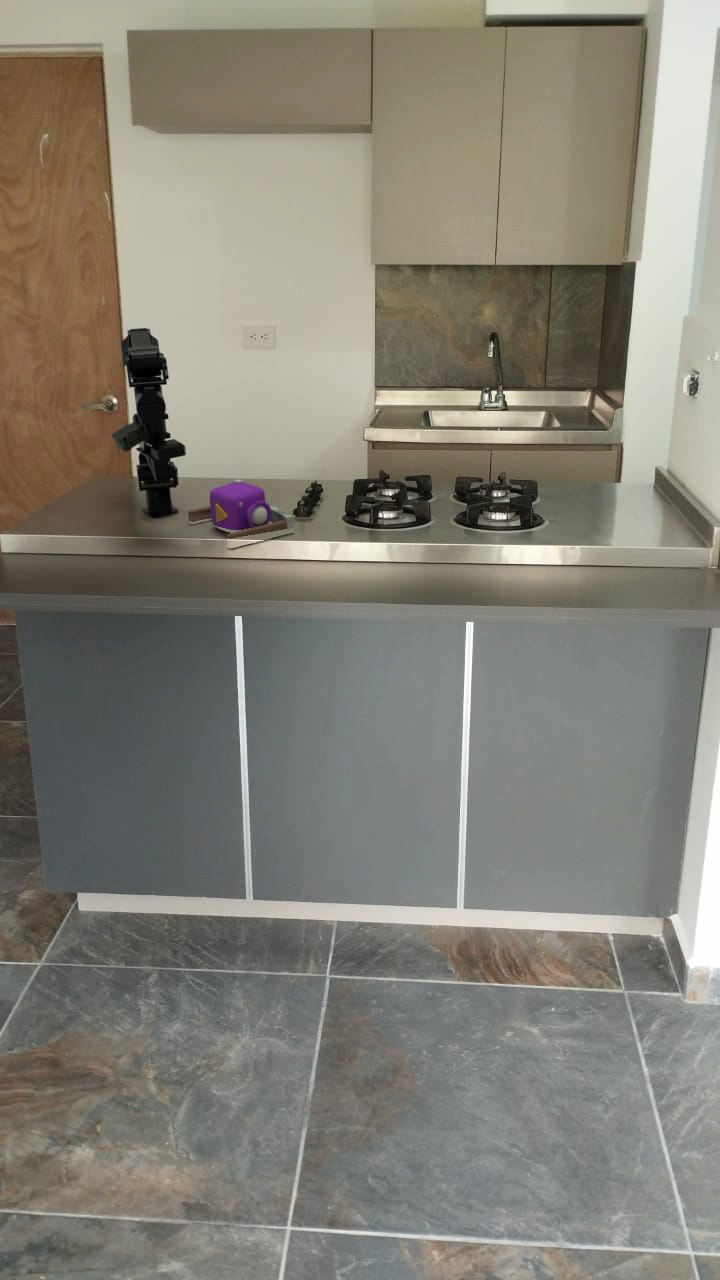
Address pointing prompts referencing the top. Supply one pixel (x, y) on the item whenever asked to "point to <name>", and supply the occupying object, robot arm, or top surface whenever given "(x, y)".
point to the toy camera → (239, 506)
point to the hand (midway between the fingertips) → (158, 480)
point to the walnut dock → (278, 520)
